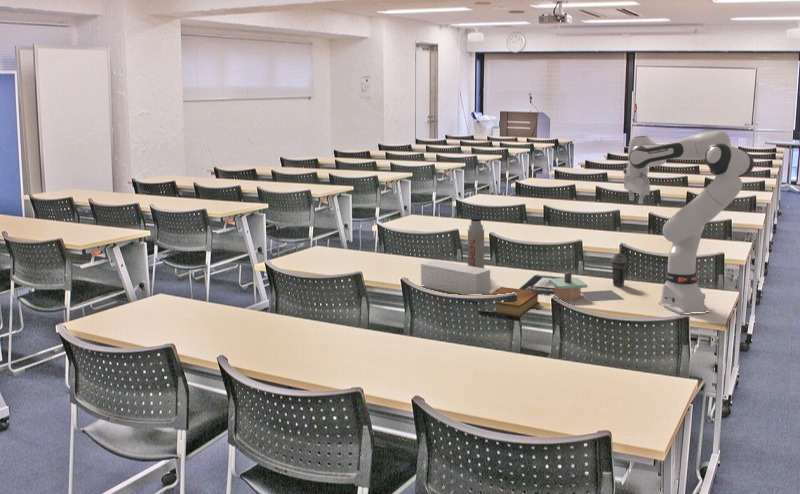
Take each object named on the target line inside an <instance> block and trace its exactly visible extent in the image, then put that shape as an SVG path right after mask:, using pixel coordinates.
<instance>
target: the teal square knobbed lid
mask: <svg viewBox="0 0 800 494" xmlns="http://www.w3.org/2000/svg"><path fill="white" fill-rule="evenodd" d="M549 282H550V283H551V284H553V285H554V286H555V287H556V288H558V289H570V288H581V289H582V288H583V289H584V288H588V284H587V283H586V282H584V281H583V280H581V279H580V278H579V277H577V276H576V277H572V272H570V271H567V272H564V277H561V278H557V279H549Z"/></svg>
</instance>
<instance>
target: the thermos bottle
mask: <svg viewBox="0 0 800 494" xmlns="http://www.w3.org/2000/svg"><path fill="white" fill-rule="evenodd" d="M470 220H471V222H470V224H469V226H468V229H467V266H473V267H478V268H484V269H485V229H484V225H483V223H482V222H481V221H482V218H480V217H472V218H471V219H470Z"/></svg>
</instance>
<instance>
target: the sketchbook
mask: <svg viewBox="0 0 800 494" xmlns="http://www.w3.org/2000/svg"><path fill="white" fill-rule="evenodd" d="M557 278H562V276H555V275H547V274H546V275H545V274H542V275H541V274H534V275H533V276H532V277H531V278H530V279H528V281H526V282H525V283H524V284H523V285H522V286H520V287H519V288H518V289H522V290H530V291H538V292H540V294H544V295H543V296H549V295H550V296H551V297H552V295H553V296H554V292H555V286H554V285H553V284H551V283H550V282H549V279H557ZM550 296H549V297H550Z"/></svg>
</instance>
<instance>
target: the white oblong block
mask: <svg viewBox="0 0 800 494" xmlns="http://www.w3.org/2000/svg"><path fill="white" fill-rule="evenodd" d="M420 283H421V284H420V286H421V285H424V286H423V287H425V286H426V288H430V287H431V289H435V290H441V291H443V292H444V291H446V292H451V293H455V294H459V293H464V294H483V295H486V294H488V292H489V293H491V269H488V268H485V267H484V268H478V267H473V266H468V264H467V265H466V264H460V263H453V262H450V261H443V260H440V259H439V260H438V259H434V260H433V259H432V260H430V261H426V262H422V263H420ZM485 293H486V294H485ZM464 294H463V295H464Z"/></svg>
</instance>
